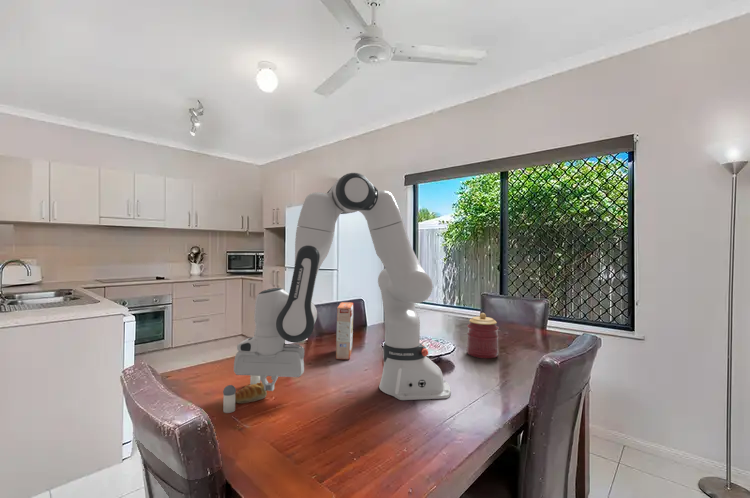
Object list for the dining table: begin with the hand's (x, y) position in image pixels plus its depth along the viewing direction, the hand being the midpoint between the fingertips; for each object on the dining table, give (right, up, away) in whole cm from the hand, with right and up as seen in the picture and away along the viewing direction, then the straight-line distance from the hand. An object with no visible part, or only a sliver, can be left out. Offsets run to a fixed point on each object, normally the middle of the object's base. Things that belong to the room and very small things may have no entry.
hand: (269, 390), depth 105 cm
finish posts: (-8, -2, 0) cm, 8 cm away
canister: (+77, -3, +47) cm, 90 cm away
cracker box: (+19, -3, +43) cm, 47 cm away
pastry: (-5, -3, 0) cm, 6 cm away
